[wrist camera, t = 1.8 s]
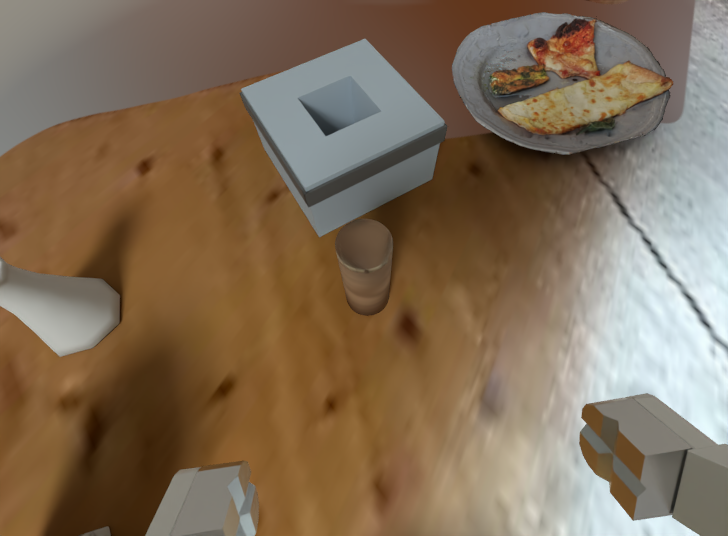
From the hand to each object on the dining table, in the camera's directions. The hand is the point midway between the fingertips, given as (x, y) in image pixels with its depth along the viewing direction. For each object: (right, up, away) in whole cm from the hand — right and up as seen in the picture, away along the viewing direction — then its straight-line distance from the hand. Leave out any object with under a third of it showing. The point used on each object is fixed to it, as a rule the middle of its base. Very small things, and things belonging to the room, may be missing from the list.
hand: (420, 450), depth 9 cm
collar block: (-3, +16, +32) cm, 36 cm away
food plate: (+22, +27, +37) cm, 51 cm away
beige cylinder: (-1, +2, +25) cm, 25 cm away
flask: (-28, 0, +25) cm, 38 cm away
